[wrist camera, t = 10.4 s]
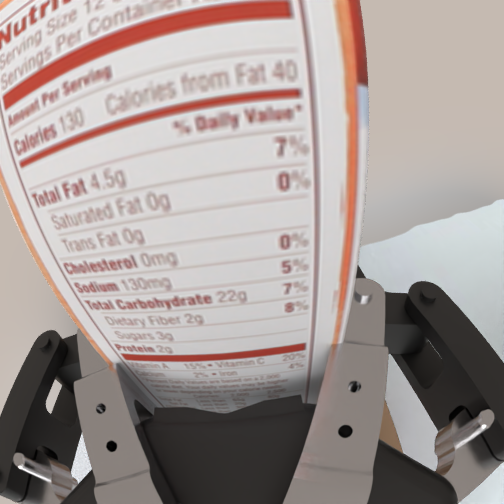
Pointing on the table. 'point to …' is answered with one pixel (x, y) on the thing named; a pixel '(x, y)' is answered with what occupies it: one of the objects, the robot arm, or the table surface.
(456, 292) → the table surface
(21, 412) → the robot arm
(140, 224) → the cracker box
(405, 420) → the table surface
